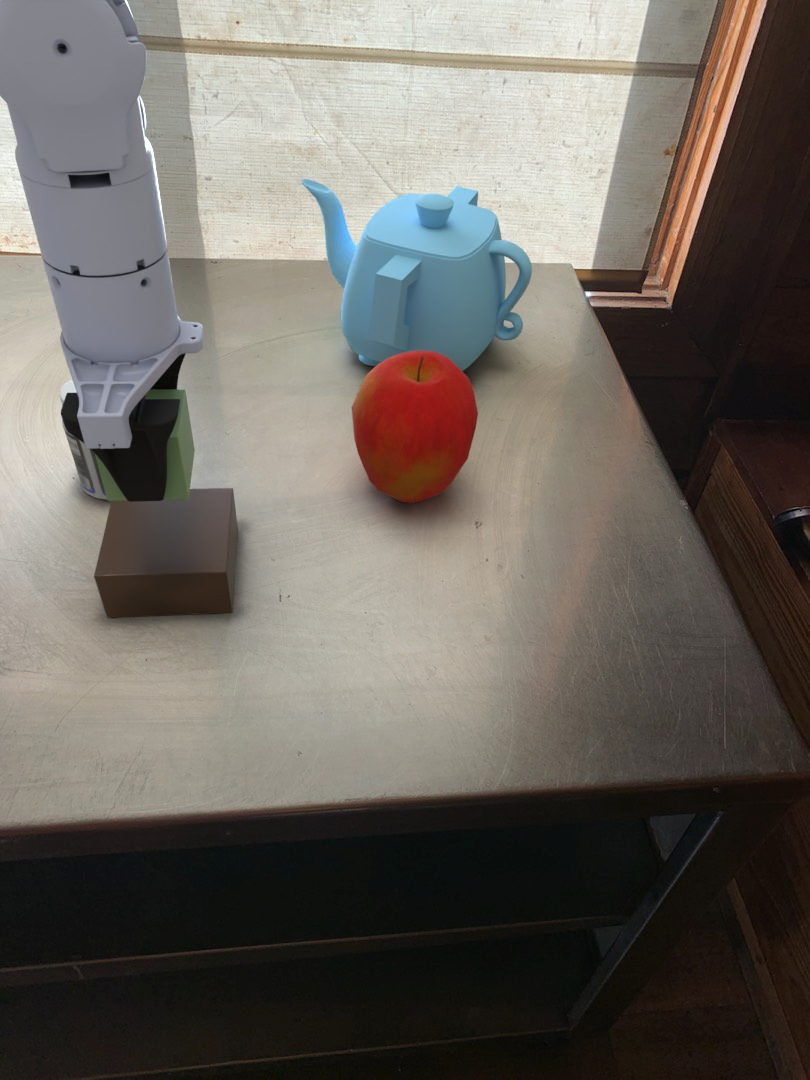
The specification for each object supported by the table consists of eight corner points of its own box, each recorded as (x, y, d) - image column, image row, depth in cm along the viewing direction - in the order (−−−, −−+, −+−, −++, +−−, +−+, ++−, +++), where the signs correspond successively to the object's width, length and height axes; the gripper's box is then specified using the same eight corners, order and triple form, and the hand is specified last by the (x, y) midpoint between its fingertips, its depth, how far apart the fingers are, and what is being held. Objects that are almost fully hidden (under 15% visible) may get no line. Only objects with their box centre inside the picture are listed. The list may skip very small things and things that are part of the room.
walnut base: (106, 618, 51) (93, 576, 48) (124, 531, 57) (113, 489, 54) (232, 613, 52) (226, 572, 49) (238, 528, 58) (233, 487, 55)
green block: (107, 501, 46) (90, 438, 42) (119, 451, 49) (103, 389, 46) (188, 499, 46) (178, 437, 43) (194, 450, 49) (185, 388, 46)
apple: (394, 437, 66) (402, 307, 58) (487, 480, 63) (511, 349, 55) (326, 496, 61) (325, 361, 52) (425, 546, 57) (441, 411, 49)
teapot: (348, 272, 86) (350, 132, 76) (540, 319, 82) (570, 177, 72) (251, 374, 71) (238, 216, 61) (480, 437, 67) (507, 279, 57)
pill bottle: (154, 464, 62) (135, 373, 56) (134, 505, 59) (111, 412, 53) (95, 458, 62) (69, 366, 56) (71, 497, 59) (41, 404, 53)
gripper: (177, 329, 33) (211, 554, 43) (202, 190, 43) (225, 397, 53) (-1, 328, 32) (75, 558, 42) (67, 187, 42) (116, 398, 52)
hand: (151, 468), depth 47 cm, fingers closed on green block, 4 cm apart
